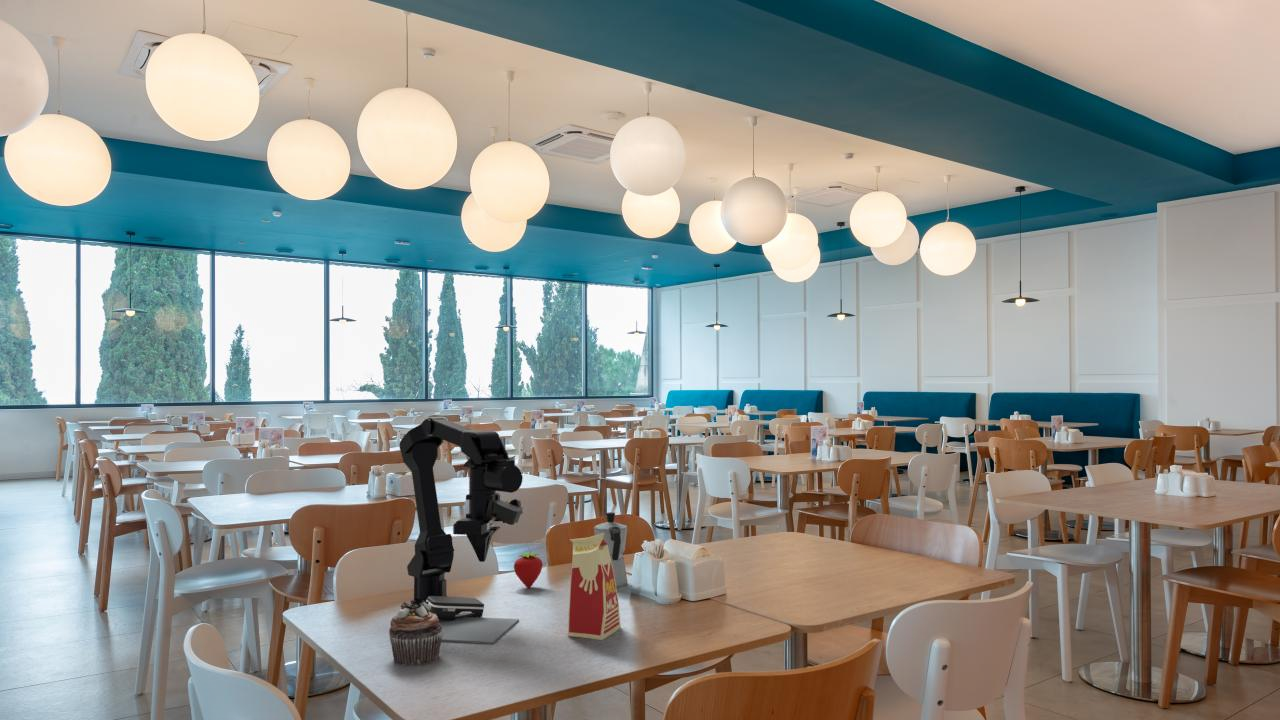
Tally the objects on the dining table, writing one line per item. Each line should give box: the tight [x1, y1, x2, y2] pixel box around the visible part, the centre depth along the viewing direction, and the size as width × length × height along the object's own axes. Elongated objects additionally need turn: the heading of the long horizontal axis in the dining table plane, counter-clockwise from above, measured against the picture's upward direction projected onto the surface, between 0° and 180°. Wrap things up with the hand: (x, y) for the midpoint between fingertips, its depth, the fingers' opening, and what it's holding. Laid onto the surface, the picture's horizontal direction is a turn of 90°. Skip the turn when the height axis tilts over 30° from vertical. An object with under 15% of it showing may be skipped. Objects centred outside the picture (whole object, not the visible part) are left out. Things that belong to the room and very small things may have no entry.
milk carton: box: [567, 533, 622, 641], centre depth 164 cm, size 9×9×20 cm
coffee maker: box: [593, 511, 629, 588], centre depth 204 cm, size 15×9×18 cm, turn 14°
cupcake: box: [388, 600, 444, 666], centre depth 148 cm, size 10×10×10 cm
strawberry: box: [513, 546, 544, 588], centre depth 201 cm, size 6×8×10 cm
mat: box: [439, 615, 520, 645], centre depth 165 cm, size 18×16×1 cm
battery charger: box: [426, 596, 485, 620], centre depth 173 cm, size 7×4×11 cm
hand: (482, 561), depth 175 cm, fingers closed
